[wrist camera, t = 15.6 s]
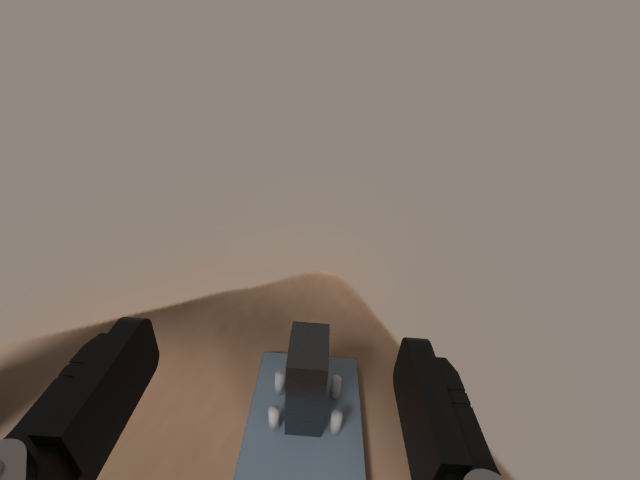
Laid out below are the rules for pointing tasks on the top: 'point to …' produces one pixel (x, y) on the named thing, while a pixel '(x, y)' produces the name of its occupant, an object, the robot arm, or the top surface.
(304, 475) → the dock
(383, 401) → the top surface
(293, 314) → the top surface
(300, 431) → the block
